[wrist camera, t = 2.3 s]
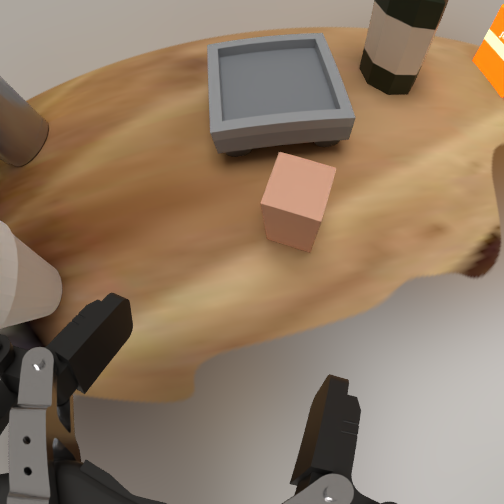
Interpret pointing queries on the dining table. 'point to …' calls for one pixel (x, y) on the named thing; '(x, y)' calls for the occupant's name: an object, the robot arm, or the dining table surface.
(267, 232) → the terracotta block
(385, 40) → the wine bottle
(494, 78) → the orange juice
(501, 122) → the dining table surface
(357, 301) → the dining table surface
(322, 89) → the grey square tray
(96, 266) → the dining table surface
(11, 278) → the cup
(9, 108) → the robot arm
